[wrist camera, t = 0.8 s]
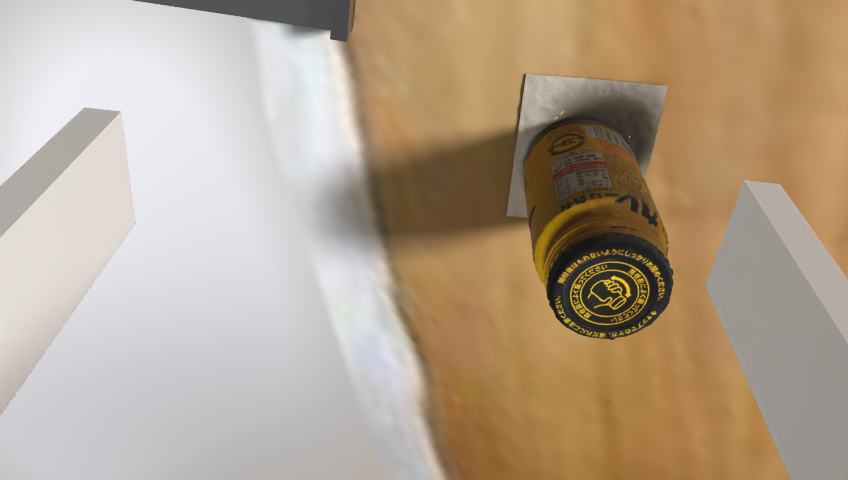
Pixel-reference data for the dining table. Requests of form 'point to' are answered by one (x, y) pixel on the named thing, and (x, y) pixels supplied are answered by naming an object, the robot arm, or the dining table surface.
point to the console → (282, 12)
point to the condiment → (592, 201)
